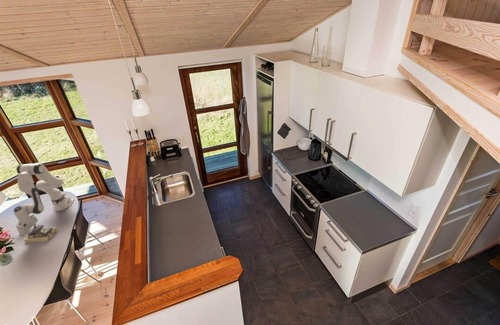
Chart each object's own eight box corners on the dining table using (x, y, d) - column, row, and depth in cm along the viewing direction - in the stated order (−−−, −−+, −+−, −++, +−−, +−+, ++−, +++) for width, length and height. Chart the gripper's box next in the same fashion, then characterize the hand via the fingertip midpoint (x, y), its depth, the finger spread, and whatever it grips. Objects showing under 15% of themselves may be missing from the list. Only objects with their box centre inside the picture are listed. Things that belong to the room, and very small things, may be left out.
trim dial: (32, 236, 245) (30, 234, 244) (35, 236, 245) (33, 234, 244) (30, 238, 243) (28, 236, 241) (33, 238, 243) (31, 236, 241)
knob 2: (40, 230, 253) (37, 224, 249) (45, 229, 253) (42, 224, 249) (35, 235, 246) (32, 230, 242) (40, 235, 246) (36, 230, 242)
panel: (36, 230, 258) (34, 227, 256) (58, 229, 259) (56, 226, 257) (25, 242, 244) (23, 239, 242) (48, 241, 245) (46, 238, 243)
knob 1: (35, 233, 254) (32, 227, 251) (40, 232, 255) (36, 227, 251) (29, 238, 247) (26, 233, 244) (34, 238, 248) (31, 233, 244)
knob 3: (49, 232, 255) (46, 227, 251) (53, 232, 255) (51, 227, 252) (44, 238, 248) (41, 233, 245) (48, 238, 248) (45, 233, 245)
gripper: (30, 213, 249) (35, 223, 256) (14, 228, 232) (21, 238, 239) (36, 213, 250) (42, 223, 257) (21, 227, 232) (27, 238, 239)
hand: (31, 230), depth 247 cm, fingers open, 8 cm apart
